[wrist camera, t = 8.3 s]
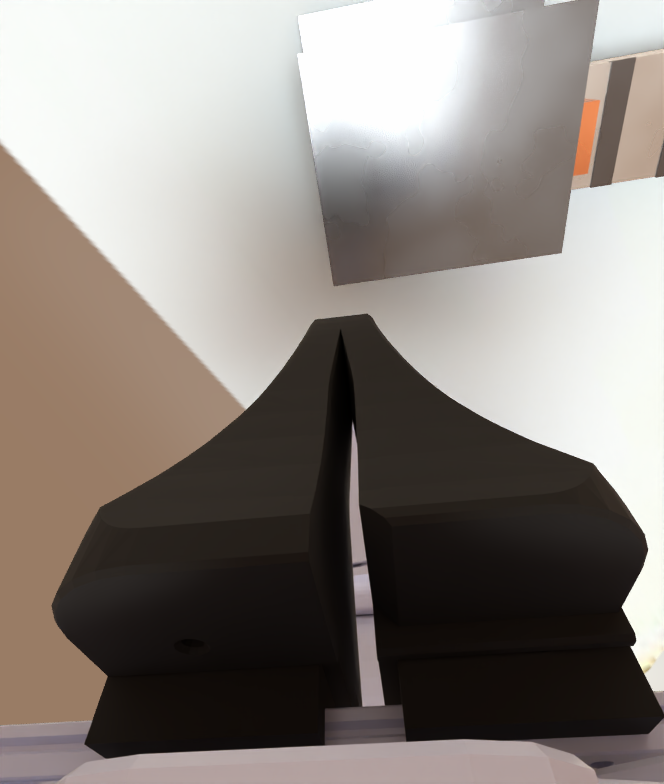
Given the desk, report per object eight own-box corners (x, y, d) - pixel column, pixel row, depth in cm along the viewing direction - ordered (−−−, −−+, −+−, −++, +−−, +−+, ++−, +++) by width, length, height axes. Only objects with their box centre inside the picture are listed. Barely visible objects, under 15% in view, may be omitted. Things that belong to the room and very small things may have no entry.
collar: (531, 243, 20) (574, 280, 16) (337, 272, 20) (338, 313, 17) (561, -36, 14) (634, -69, 11) (298, 16, 15) (289, 1, 12)
